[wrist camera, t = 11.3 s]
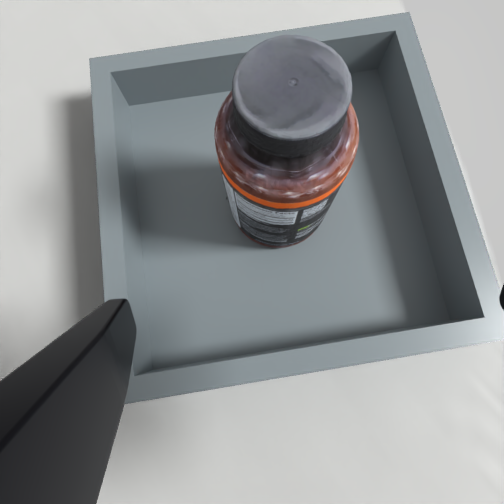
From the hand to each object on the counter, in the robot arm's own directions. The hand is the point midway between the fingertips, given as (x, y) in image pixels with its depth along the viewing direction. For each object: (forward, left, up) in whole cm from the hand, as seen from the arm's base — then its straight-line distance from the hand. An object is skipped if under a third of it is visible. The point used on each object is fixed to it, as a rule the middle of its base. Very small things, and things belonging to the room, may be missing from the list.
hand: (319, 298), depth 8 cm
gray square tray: (+7, -1, -14) cm, 15 cm away
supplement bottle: (+7, -1, -13) cm, 15 cm away
